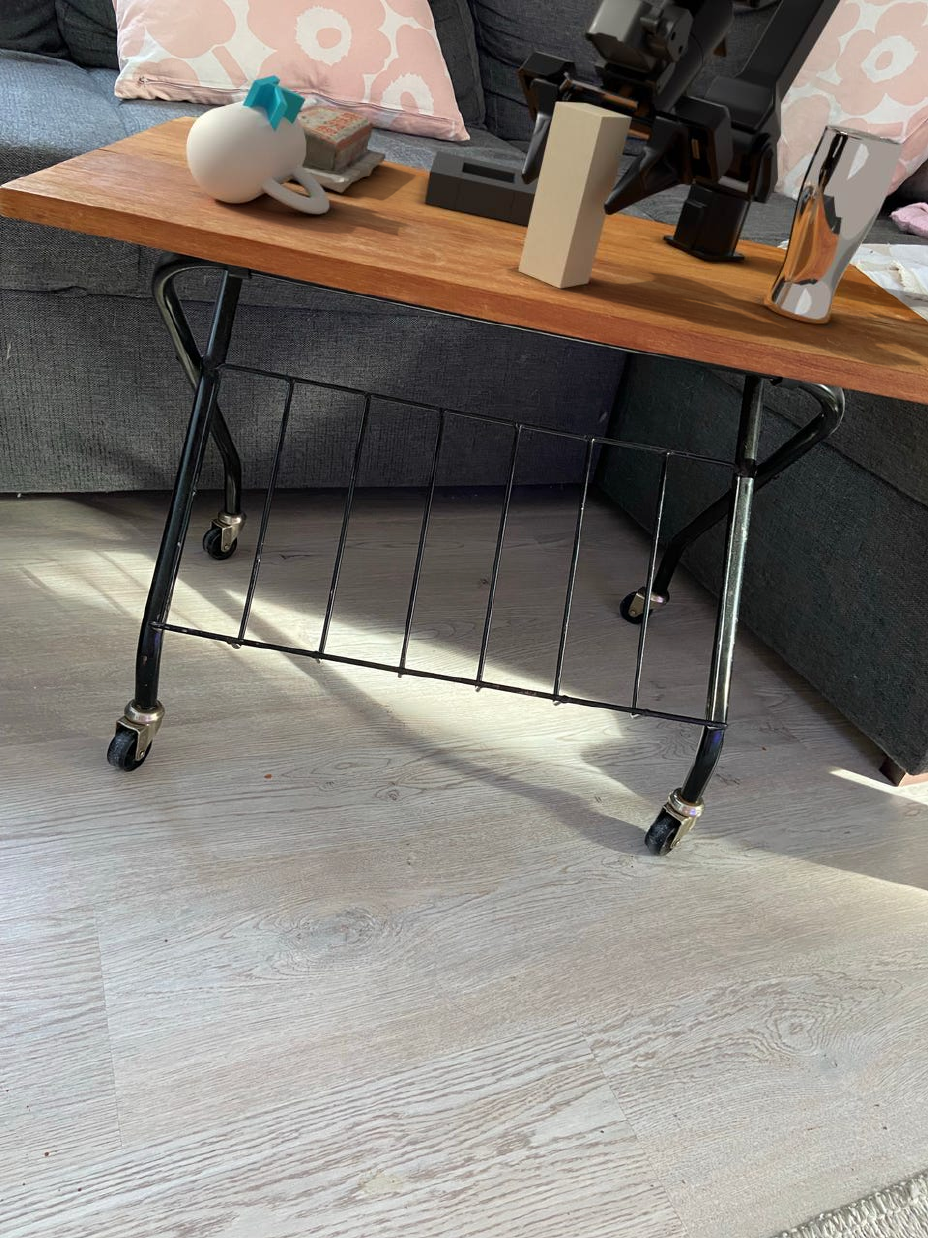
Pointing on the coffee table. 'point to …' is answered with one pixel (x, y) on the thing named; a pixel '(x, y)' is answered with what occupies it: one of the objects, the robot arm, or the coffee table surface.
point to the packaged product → (337, 146)
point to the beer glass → (832, 219)
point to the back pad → (573, 193)
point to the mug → (254, 149)
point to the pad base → (480, 188)
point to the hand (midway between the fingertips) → (564, 195)
